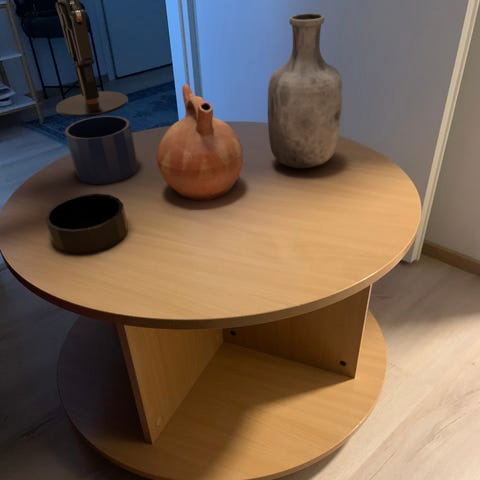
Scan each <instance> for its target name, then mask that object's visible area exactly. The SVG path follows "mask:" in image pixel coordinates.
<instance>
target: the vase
mask: <svg viewBox="0 0 480 480" xmlns="http://www.w3.org/2000/svg"><path fill="white" fill-rule="evenodd" d="M324 23H325V16H324V15H323V14H321V13H311V12H309V13H298V14H294V15H291V16H290V17H289V25H290V26H291V27H292V28H291V30H292V49H291V54H290V56H289V58H288V60H287V61H286V62H285V64H283V65H281V66H280V67H278V68H276V69H275V70H274V71H273V72H272V73H271V75H270V77H269V81H268V87H267V131H268V141H269V147H270V151H271V153H272V155H273V158H275V159H276V161H278V162H279V163H281V164H282V165H284V166H287V167H290V168H293V169H310V168H314V167H318V166H320V165H323V164H324V163H326V162H328V161H329V160H331V158H332V157H333V156H334V154H335V151H336V149H337V145H338V141H339V136H340V129H341V120H342V119H341V118H342V110H343V109H342V108H343V107H342V106H343V79H342V76H341V74H340V72H339V70H338V69H337V68H335V66H333V65H331V64H328V63H327V62H326V61H325V59H324V58H323V56H322V54H321V49H320V48H321V47H320V40H321V30H322V24H324Z"/></svg>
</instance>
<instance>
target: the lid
mask: <svg viewBox="0 0 480 480" xmlns="http://www.w3.org/2000/svg"><path fill="white" fill-rule="evenodd" d="M75 63H76V62H75ZM77 64H79V62H78V63H76V65H77ZM77 70H78V74H79V78H80V82H81V86H82V90H83V94H84V96H82V94H81V93H79V94H76V95H73V96H70V97H68V98H65V99H63V100H61V101H60V102H58V103H57V104H56V106H55V109H56V112H57V113H58V114H59V115H62V116H65V117H70V118H87V117H88V118H90V117H98V116H103V115H105V114H109V113H113V112H115V111H118V110H120V109H122V108H124V107H125V106H126V105H127V104H128V102H129V97H128V96H127V95H126V94H124V93H122V92H119V91H110V90H109V91H107V90H105V91H103V90H102V91H98V94H99V98H95V99H90V100H87V99H86V96H85V92H84V88H83V84H82V80H81V76H80V72H79V68H77Z"/></svg>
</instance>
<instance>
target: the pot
mask: <svg viewBox="0 0 480 480" xmlns="http://www.w3.org/2000/svg"><path fill="white" fill-rule="evenodd" d="M64 135H65V139H66V143H67V146H68V149H69V153H70V157H71V160H72V164H73V168H74V170H75V174H76V176H77V178H78V179H79V180H80V181H81V182H83V183H86V184H90V185H91V184H92V185H107V184H113V183H118V182H121V181H123V180H126V179H128V178H130V177H132V176H133V175H135V174H136V173H137V171H138V168H139V166H138V157H137V153H136V148H135V142H134V137H133V132H132V127H131V121H129V120H128V119H127V118H126V117H122V116H119V115H117V116H116V115H97V116H91V117H88V118H87V117H86V118H84V119H80V120H78V121H76V122H73V123H71V124H70V125H69V126H67V127H66V128H65V130H64Z"/></svg>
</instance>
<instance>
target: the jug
mask: <svg viewBox="0 0 480 480" xmlns="http://www.w3.org/2000/svg"><path fill="white" fill-rule="evenodd" d="M181 91H182V100H183V103H184V108H185V115H184V117H183V118H181V119H180V120H178V121H176V122H174V123H173V124H172V125H171V126H170V127H169V128H168V129H167V130H166V132H165V133H164V135H163V137H162V138H161V140H160V143H159V145H158V147H157V153H156V162H157V163H156V164H157V167H158V170H159V171H160V174H161V176H162V179H163V180H164V181H165V182H166V183H167V184H168V186H169V187H171V188H172V190H174V191H175V192H177V193H178V194H179V195H180V196H182V197H184V198H186V199H189V200H192V201H209V200H215V199H217V198H220V197H222V196H224V195H226V194H227V193H228V192H230V190H231V189H232V188H233V186H234V184H235V183H236V181H237V179H239V176H240V174H241V171H242V168H243V163H244V150H243V146H242V144H241V141H240V138H239V137H238V135H237V134H236V132H235V131H234V130H233V128H232V127H231V126H229V124H227V123H226V122H225V121H223V120H222V119H219V118H216V117H214V110H213V106H212V104H211V103H210V102H208V101H205V100H204V98H203V97H201V96H197V95H195V93H193V91H192V89H191V87H190V86H189V85H188V83H184V84H182V89H181Z"/></svg>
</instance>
